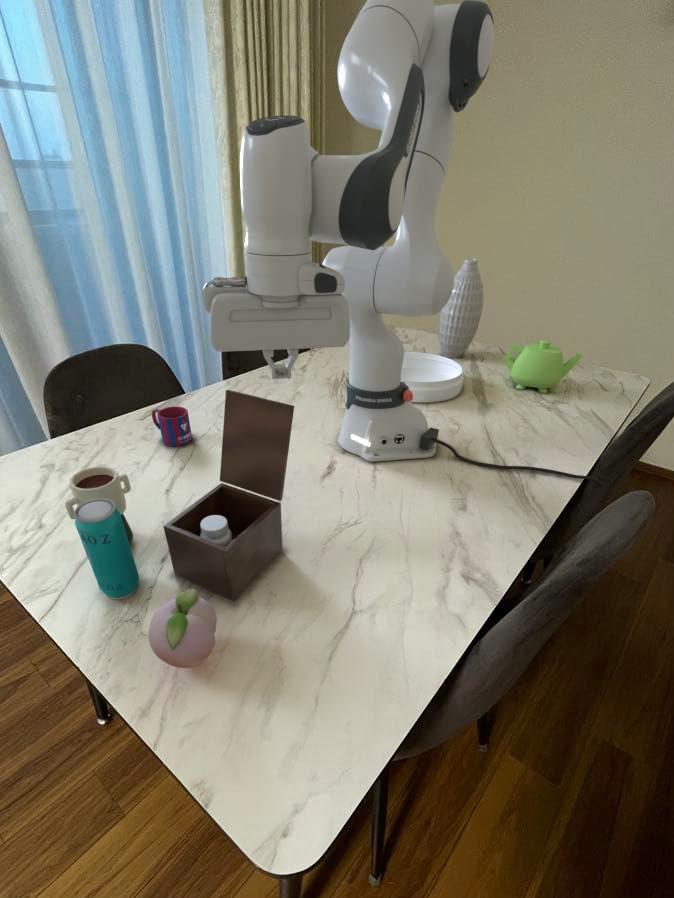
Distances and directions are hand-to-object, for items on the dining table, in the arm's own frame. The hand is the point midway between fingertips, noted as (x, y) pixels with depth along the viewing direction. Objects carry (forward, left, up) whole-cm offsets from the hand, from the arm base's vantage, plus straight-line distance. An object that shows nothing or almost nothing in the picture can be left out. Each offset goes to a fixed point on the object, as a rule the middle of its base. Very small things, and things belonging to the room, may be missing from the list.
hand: (281, 377), depth 72 cm
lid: (+4, +8, -8) cm, 12 cm away
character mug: (+28, +11, -25) cm, 40 cm away
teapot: (-69, -66, -25) cm, 99 cm away
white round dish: (-34, -65, -25) cm, 78 cm away
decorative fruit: (+10, +34, -25) cm, 43 cm away
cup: (+28, -28, -25) cm, 47 cm away
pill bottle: (+9, +16, -25) cm, 31 cm away
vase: (-51, -93, -25) cm, 109 cm away
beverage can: (+23, +22, -25) cm, 41 cm away
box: (+8, +15, -25) cm, 30 cm away
